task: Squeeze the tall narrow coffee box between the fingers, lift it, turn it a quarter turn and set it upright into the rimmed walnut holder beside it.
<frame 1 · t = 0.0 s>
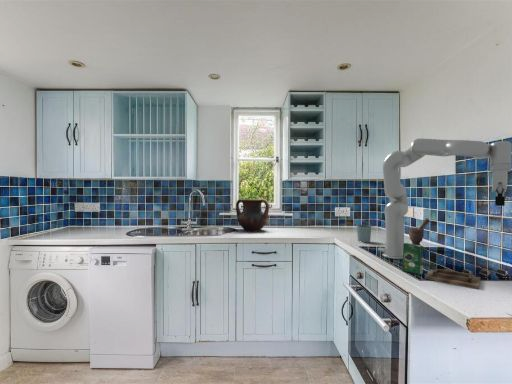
hand: (499, 205, 129), 31 cm above the worktop, tool pointing down, fingers open, 9 cm apart
mortar and pestle: (418, 248, 184), on the worktop
dark brown round pot: (252, 230, 259), on the worktop
coffee box: (412, 273, 128), on the worktop
holder: (452, 279, 118), on the worktop
grey-green pot: (363, 242, 205), on the worktop
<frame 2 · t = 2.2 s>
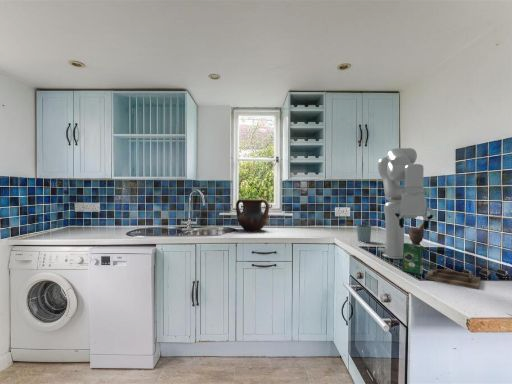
hand: (413, 228, 128), 20 cm above the worktop, tool pointing down, fingers open, 9 cm apart
nothing on the worktop moved.
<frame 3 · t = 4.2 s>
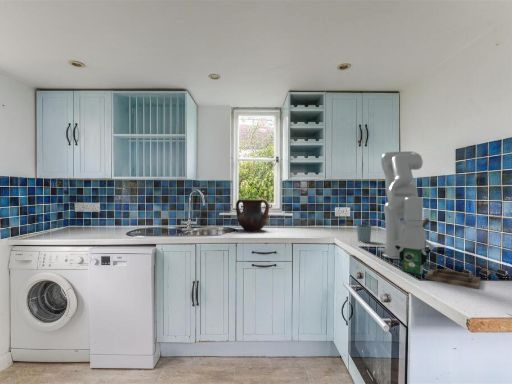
hand: (412, 261, 128), 5 cm above the worktop, tool pointing down, fingers closed on coffee box, 8 cm apart
coffee box: (412, 273, 128), on the worktop, touching gripper
everything else where it was.
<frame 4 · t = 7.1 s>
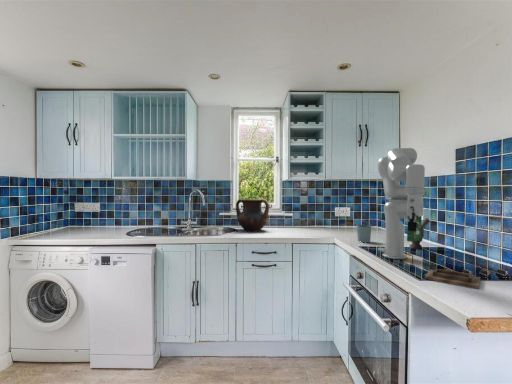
hand: (414, 229, 128), 20 cm above the worktop, tool pointing down, fingers closed on coffee box, 8 cm apart
coffee box: (414, 241, 128), point 14 cm above the worktop, touching gripper
everything else where it was.
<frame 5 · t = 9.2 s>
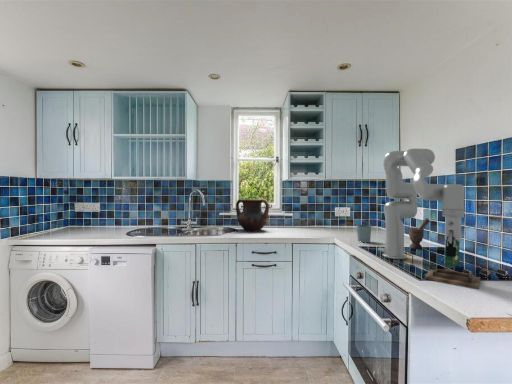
hand: (452, 254, 118), 11 cm above the worktop, tool pointing down, fingers closed on coffee box, 8 cm apart
coffee box: (452, 266, 118), point 5 cm above the worktop, touching gripper
everything else where it was.
when the fingers open (8 cm above the worktop, at t = 10.5 s): coffee box stays where it is, resting on holder.
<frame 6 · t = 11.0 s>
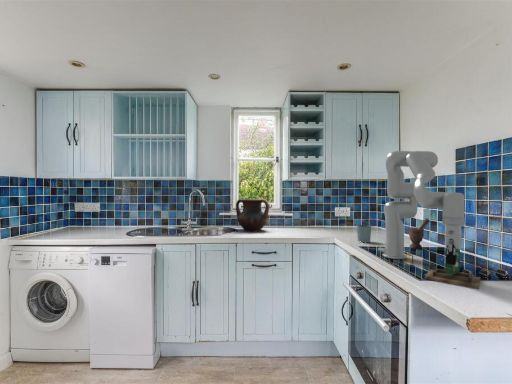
hand: (452, 262, 118), 8 cm above the worktop, tool pointing down, fingers open, 9 cm apart
coffee box: (452, 273, 118), point 3 cm above the worktop, touching holder
everything else where it was.
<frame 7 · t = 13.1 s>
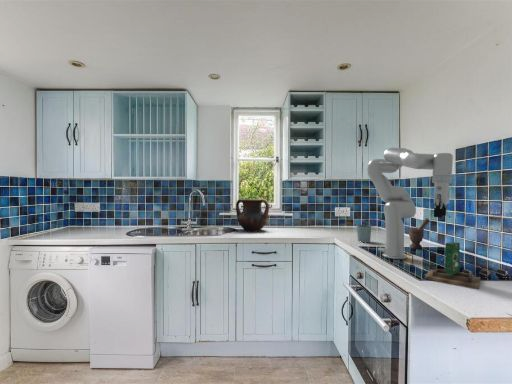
hand: (439, 216, 131), 26 cm above the worktop, tool pointing down, fingers open, 9 cm apart
nothing on the worktop moved.
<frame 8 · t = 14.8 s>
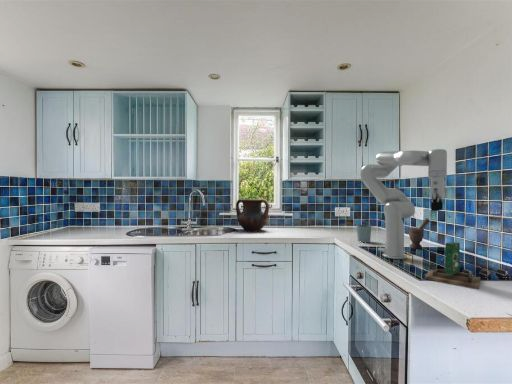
hand: (437, 210, 135), 28 cm above the worktop, tool pointing down, fingers open, 9 cm apart
nothing on the worktop moved.
at the end: coffee box 0.0 cm off-centre on the holder, point 2.5 cm above the holder's base; coffee box tilted 0°; the gripper is holding nothing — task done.
